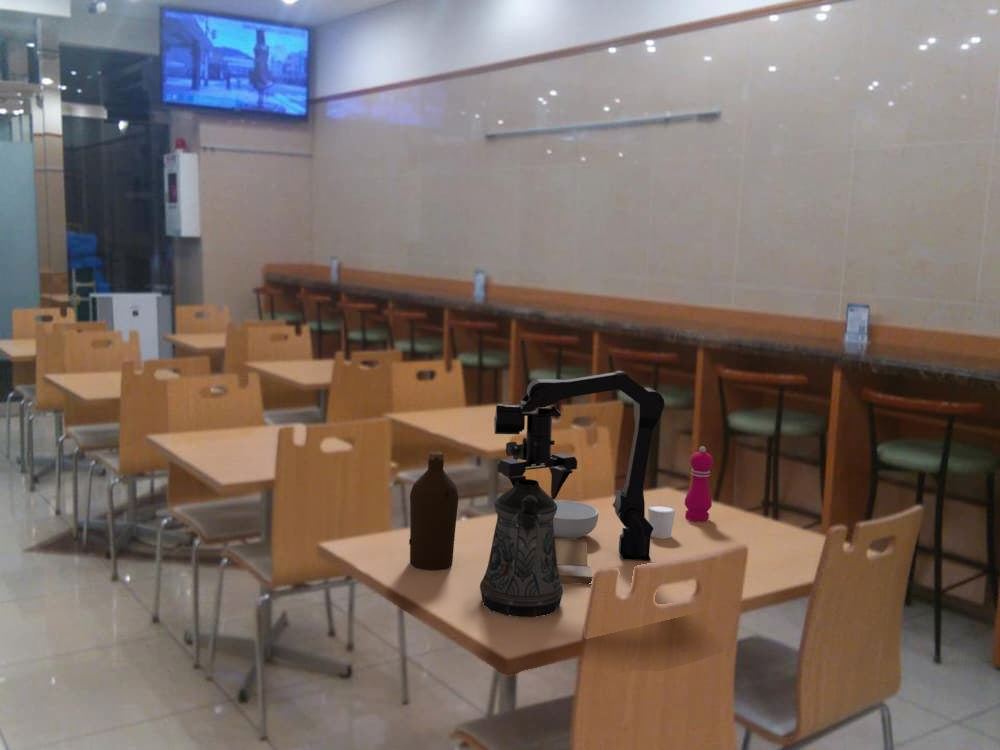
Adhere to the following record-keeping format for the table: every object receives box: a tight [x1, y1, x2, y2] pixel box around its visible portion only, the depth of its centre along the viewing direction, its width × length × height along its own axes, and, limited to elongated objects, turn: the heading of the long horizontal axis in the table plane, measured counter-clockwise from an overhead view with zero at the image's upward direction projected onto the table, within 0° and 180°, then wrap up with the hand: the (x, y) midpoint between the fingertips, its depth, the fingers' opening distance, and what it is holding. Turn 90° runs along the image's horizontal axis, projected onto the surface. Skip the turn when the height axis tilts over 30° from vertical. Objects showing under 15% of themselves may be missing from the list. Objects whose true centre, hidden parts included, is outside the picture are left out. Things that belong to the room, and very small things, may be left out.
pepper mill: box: [684, 445, 714, 522], centre depth 271 cm, size 7×7×20 cm
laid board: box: [557, 565, 594, 585], centre depth 218 cm, size 18×7×2 cm, turn 90°
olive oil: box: [408, 450, 460, 571], centre depth 221 cm, size 11×11×25 cm
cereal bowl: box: [553, 499, 599, 540], centre depth 249 cm, size 17×17×7 cm
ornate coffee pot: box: [479, 478, 564, 618], centre depth 198 cm, size 16×19×25 cm
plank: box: [555, 538, 588, 566], centre depth 224 cm, size 17×7×2 cm
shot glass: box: [647, 504, 676, 540], centre depth 254 cm, size 7×7×7 cm
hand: (536, 501), depth 232 cm, fingers open, 9 cm apart
